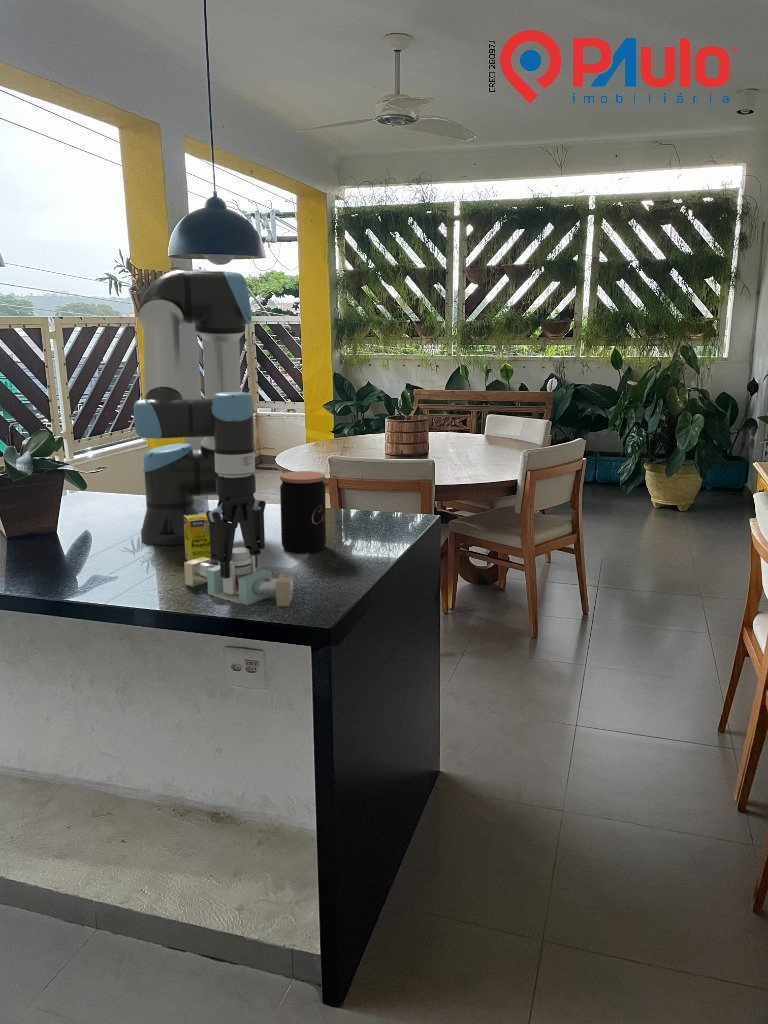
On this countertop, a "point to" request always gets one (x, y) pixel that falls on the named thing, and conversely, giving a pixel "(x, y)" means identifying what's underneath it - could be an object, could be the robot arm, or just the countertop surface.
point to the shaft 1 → (197, 571)
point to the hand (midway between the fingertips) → (239, 588)
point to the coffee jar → (303, 511)
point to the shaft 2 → (276, 588)
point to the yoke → (245, 586)
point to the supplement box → (197, 537)
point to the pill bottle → (241, 564)
